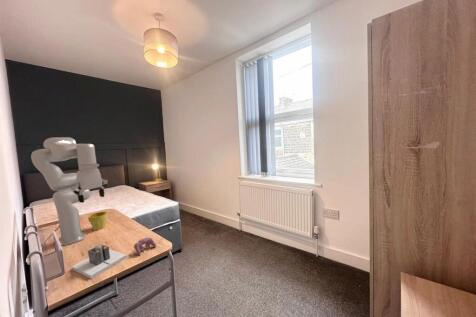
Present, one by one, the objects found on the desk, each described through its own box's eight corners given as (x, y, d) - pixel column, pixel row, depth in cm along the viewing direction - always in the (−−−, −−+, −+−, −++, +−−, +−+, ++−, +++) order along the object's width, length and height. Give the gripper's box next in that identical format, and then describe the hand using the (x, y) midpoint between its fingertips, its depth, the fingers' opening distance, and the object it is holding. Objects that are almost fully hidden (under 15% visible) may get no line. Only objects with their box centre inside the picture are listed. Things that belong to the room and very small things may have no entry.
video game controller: (153, 247, 109) (149, 235, 111) (157, 246, 107) (153, 234, 108) (135, 256, 102) (131, 243, 103) (139, 255, 99) (134, 242, 100)
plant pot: (101, 231, 130) (99, 217, 129) (86, 232, 130) (84, 217, 129) (111, 224, 140) (110, 211, 139) (97, 225, 140) (95, 211, 139)
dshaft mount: (72, 269, 92) (69, 252, 91) (107, 251, 106) (105, 235, 105) (91, 278, 84) (88, 260, 83) (126, 257, 99) (124, 241, 98)
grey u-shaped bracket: (89, 262, 94) (87, 250, 93) (102, 255, 99) (101, 243, 98) (96, 265, 91) (95, 253, 90) (110, 258, 96) (108, 246, 96)
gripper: (101, 164, 112) (105, 194, 114) (64, 170, 97) (69, 203, 98) (109, 165, 109) (113, 195, 110) (72, 170, 93) (77, 205, 95)
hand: (92, 199), depth 104 cm, fingers open, 9 cm apart
